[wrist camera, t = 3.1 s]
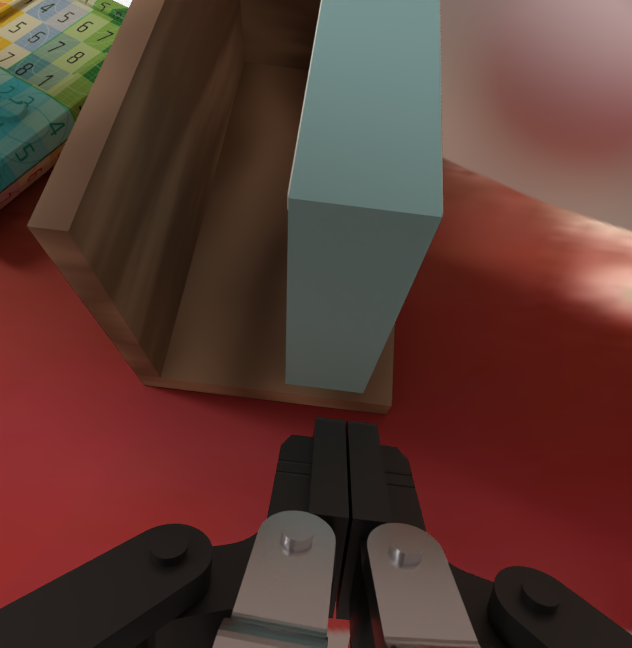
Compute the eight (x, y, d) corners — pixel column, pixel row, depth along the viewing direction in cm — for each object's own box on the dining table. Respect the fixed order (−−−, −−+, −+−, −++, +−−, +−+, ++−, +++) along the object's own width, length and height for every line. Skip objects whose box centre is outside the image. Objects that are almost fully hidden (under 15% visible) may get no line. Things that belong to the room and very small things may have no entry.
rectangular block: (284, 383, 25) (286, 197, 13) (308, 214, 30) (327, -38, 18) (364, 393, 25) (444, 217, 13) (375, 222, 30) (440, -24, 18)
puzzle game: (-225, 113, 27) (46, -44, 36) (-158, 173, 32) (71, 21, 40) (-79, 207, 25) (173, 17, 33) (-28, 259, 29) (186, 79, 38)
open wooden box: (143, 385, 26) (9, 203, 13) (233, 68, 38) (207, -192, 25) (386, 414, 26) (486, 262, 13) (400, 89, 38) (460, -160, 25)
